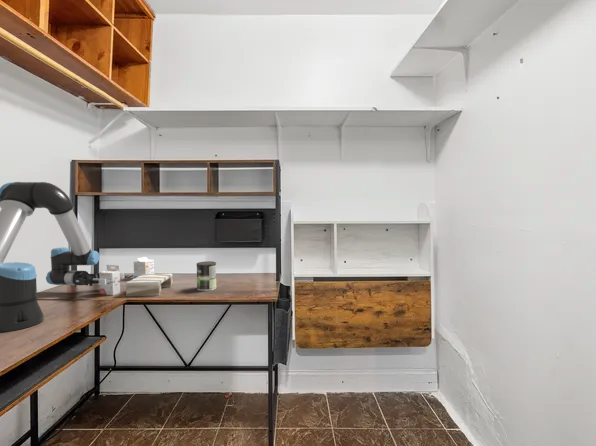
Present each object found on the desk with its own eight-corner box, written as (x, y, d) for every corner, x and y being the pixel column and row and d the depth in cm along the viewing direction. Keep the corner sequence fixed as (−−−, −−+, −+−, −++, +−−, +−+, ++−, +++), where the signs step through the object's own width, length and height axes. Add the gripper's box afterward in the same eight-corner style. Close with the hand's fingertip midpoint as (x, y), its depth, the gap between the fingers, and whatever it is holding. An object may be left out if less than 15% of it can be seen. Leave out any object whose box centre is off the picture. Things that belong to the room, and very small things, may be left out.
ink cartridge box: (99, 294, 161) (98, 266, 161) (107, 292, 166) (106, 264, 165) (112, 295, 159) (111, 266, 158) (120, 293, 164) (119, 265, 163)
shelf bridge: (159, 295, 158) (158, 281, 158) (126, 296, 157) (125, 282, 157) (172, 285, 178) (172, 273, 178) (143, 286, 177) (143, 274, 177)
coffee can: (199, 292, 164) (199, 265, 163) (194, 287, 173) (194, 262, 172) (219, 289, 170) (218, 263, 169) (213, 285, 178) (212, 260, 178)
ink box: (145, 280, 192) (145, 258, 191) (133, 280, 193) (132, 258, 193) (154, 277, 200) (154, 256, 199) (143, 277, 202) (142, 256, 201)
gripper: (95, 279, 177) (130, 280, 174) (57, 291, 152) (97, 292, 150) (95, 266, 176) (130, 266, 174) (56, 275, 152) (96, 276, 149)
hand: (115, 278), depth 162 cm, fingers open, 13 cm apart
